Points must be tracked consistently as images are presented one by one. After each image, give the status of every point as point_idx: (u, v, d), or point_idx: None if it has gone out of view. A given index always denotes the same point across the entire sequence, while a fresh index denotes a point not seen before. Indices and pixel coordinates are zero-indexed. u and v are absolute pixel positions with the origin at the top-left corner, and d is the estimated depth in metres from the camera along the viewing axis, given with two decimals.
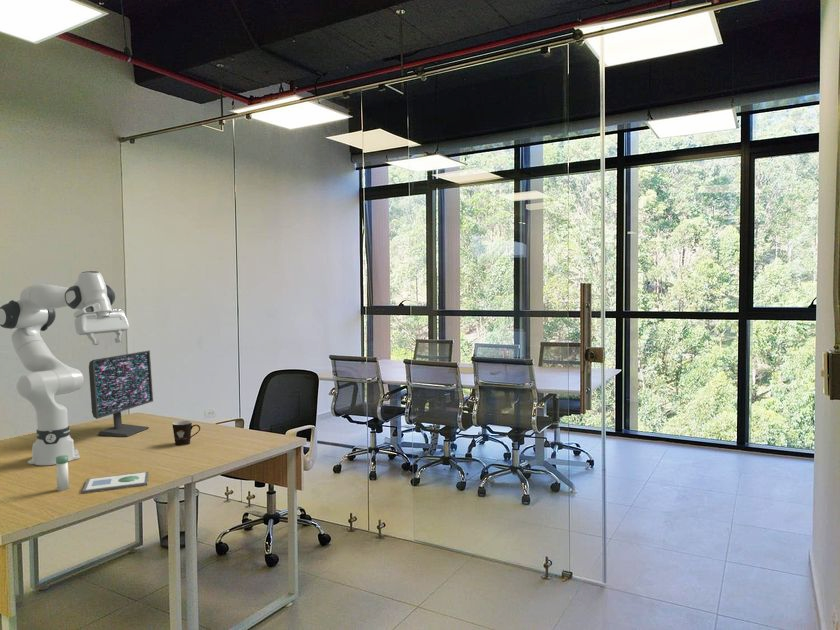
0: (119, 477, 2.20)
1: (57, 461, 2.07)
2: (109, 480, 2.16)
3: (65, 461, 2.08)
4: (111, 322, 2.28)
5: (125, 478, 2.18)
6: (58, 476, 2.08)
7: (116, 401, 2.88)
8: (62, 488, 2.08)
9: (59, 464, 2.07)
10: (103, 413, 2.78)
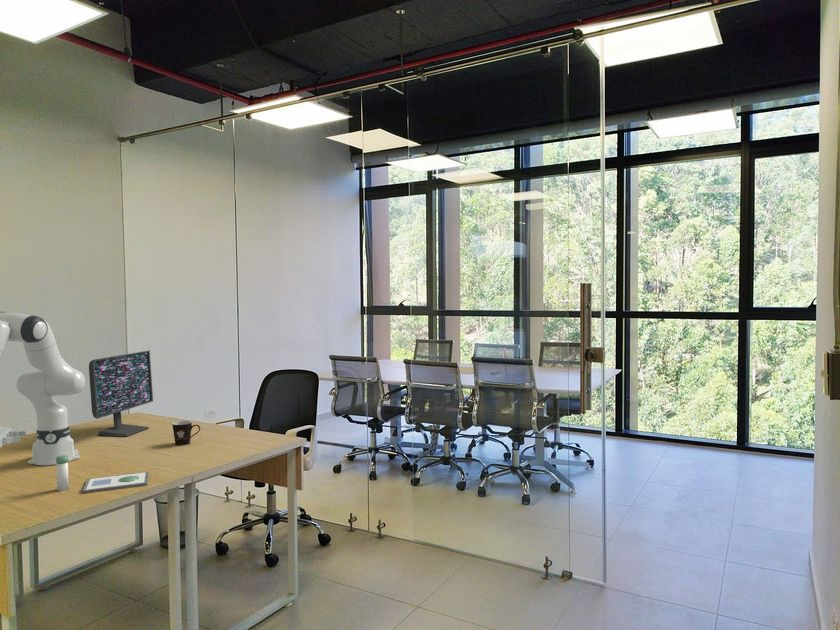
0: (119, 477, 2.20)
1: (57, 461, 2.07)
2: (109, 480, 2.16)
3: (65, 461, 2.08)
4: None
5: (125, 478, 2.18)
6: (58, 476, 2.08)
7: (116, 401, 2.88)
8: (62, 488, 2.08)
9: (59, 464, 2.07)
10: (103, 413, 2.78)
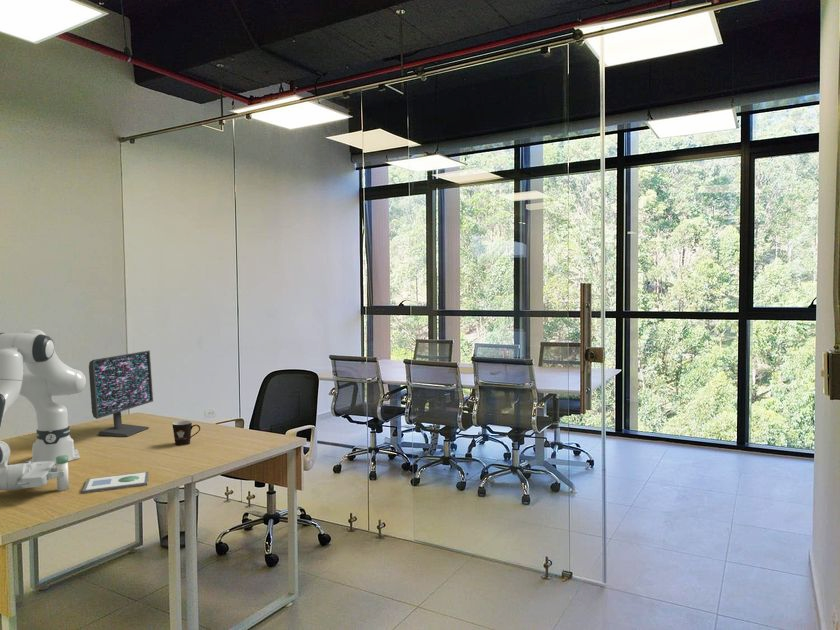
0: (119, 477, 2.20)
1: (57, 461, 2.07)
2: (109, 480, 2.16)
3: (65, 461, 2.08)
4: None
5: (125, 478, 2.18)
6: None
7: (116, 401, 2.88)
8: (62, 488, 2.08)
9: (59, 464, 2.07)
10: (103, 413, 2.78)
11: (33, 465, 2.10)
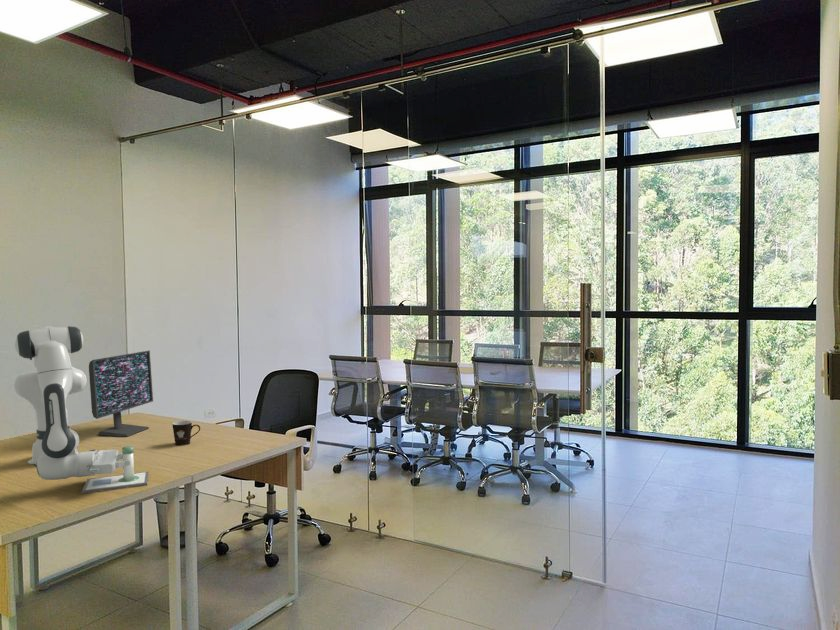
0: (119, 477, 2.20)
1: (124, 452, 2.16)
2: (109, 480, 2.16)
3: (131, 452, 2.17)
4: None
5: None
6: (124, 466, 2.16)
7: (116, 401, 2.88)
8: (128, 478, 2.16)
9: (125, 455, 2.16)
10: (103, 413, 2.78)
11: (100, 453, 2.18)
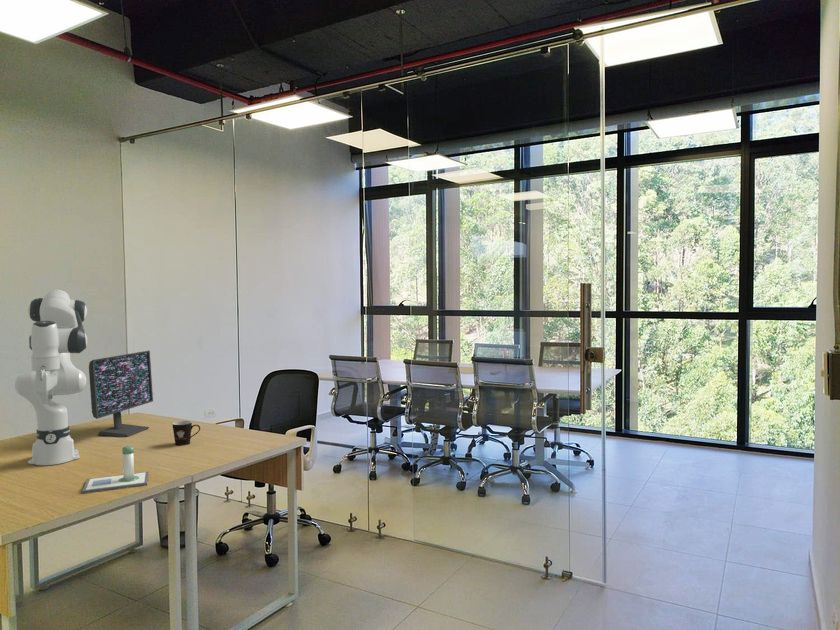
0: (119, 477, 2.20)
1: (124, 452, 2.16)
2: (109, 480, 2.16)
3: (131, 452, 2.17)
4: None
5: None
6: (124, 466, 2.16)
7: (116, 401, 2.88)
8: (128, 478, 2.16)
9: (125, 455, 2.16)
10: (103, 413, 2.78)
11: None
